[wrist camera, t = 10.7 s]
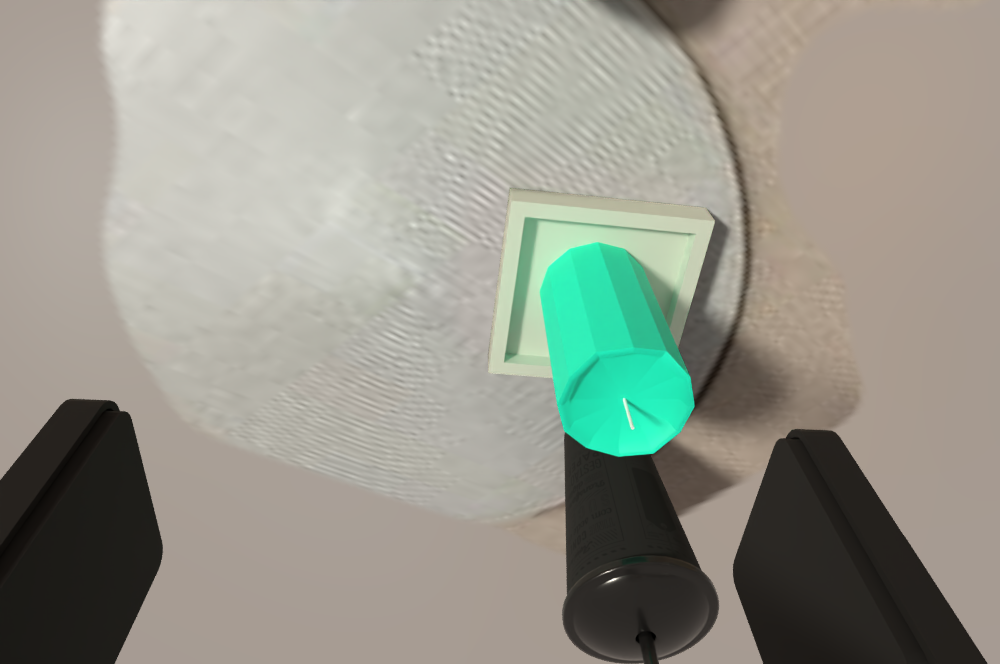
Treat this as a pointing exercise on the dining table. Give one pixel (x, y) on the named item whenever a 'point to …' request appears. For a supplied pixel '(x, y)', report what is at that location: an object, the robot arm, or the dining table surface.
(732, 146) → the dining table surface
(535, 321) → the tray
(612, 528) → the drinking cup
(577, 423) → the candle
